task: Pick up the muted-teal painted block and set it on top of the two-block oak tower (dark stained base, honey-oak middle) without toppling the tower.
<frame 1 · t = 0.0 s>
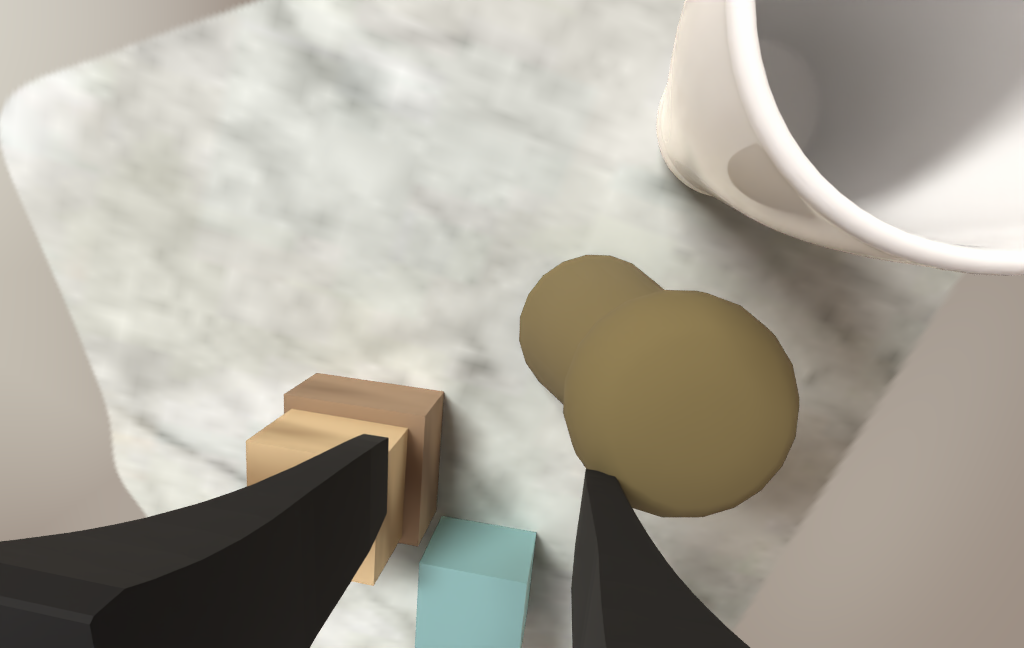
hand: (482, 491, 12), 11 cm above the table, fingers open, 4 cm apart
tower mid: (347, 473, 23), point 3 cm above the table, touching tower base
drinking glass: (728, 122, 20), on the table
tower base: (380, 439, 25), on the table, touching tower mid
teal block: (485, 563, 26), on the table
olive rounded piece: (593, 329, 22), on the table, touching gripper
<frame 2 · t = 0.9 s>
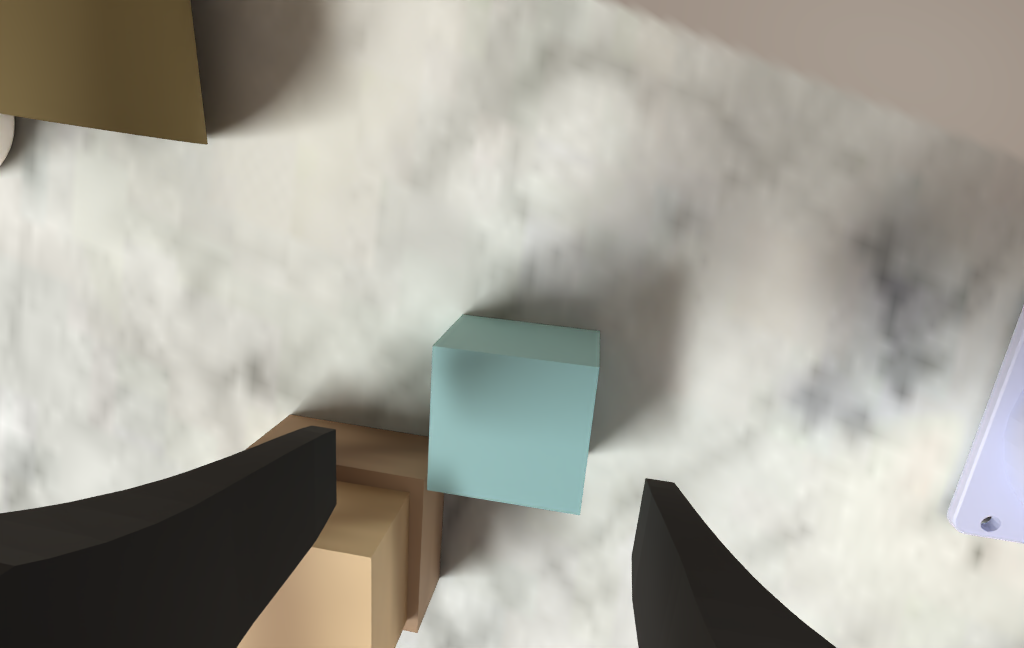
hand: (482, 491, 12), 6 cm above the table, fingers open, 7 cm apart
tower mid: (336, 545, 18), point 3 cm above the table, touching tower base
tower base: (370, 492, 21), on the table, touching tower mid
teal block: (524, 385, 18), on the table
olive rounded piece: (83, 132, 15), point 3 cm above the table
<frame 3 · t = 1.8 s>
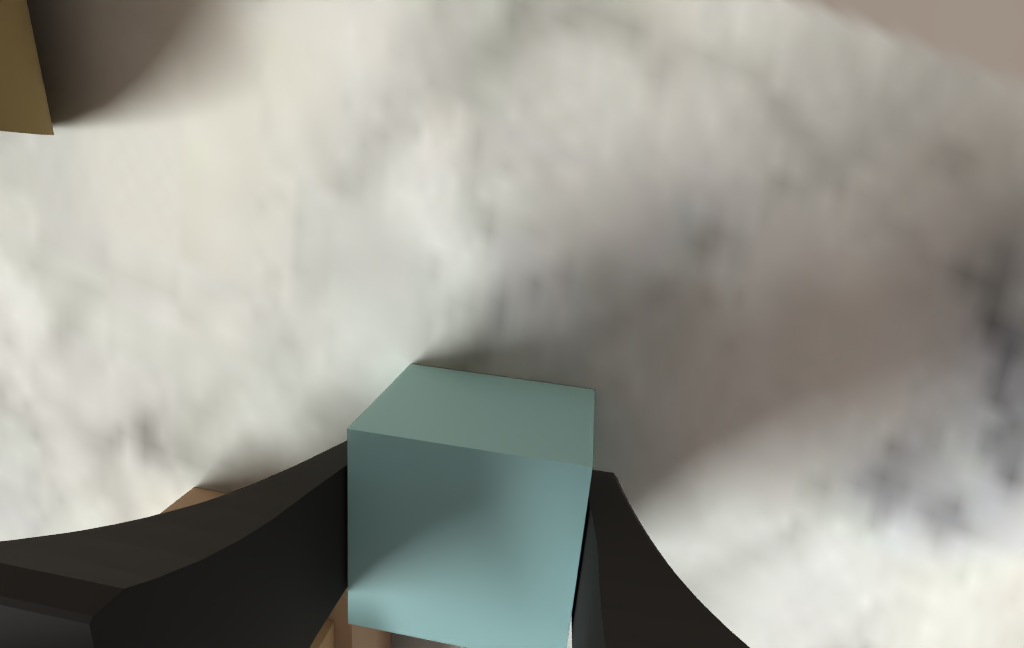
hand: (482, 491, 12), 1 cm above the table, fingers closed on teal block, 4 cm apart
tower base: (300, 584, 16), on the table, touching tower mid
teal block: (493, 459, 14), on the table, touching gripper
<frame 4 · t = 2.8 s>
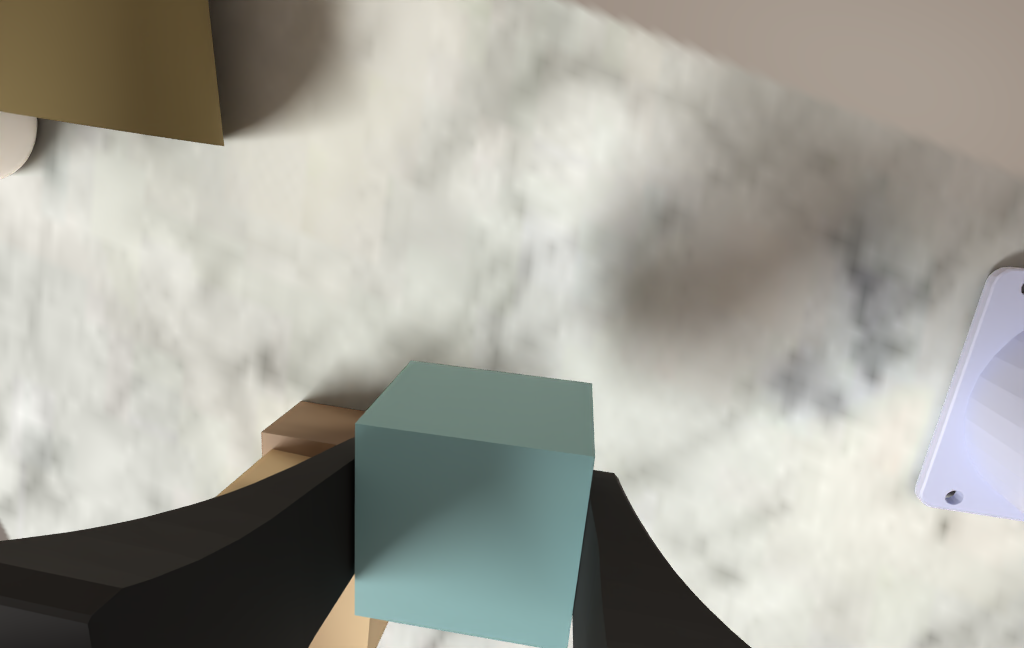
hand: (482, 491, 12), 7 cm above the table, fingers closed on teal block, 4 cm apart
tower mid: (337, 525, 19), point 3 cm above the table, touching tower base
tower base: (376, 476, 22), on the table, touching tower mid
teal block: (493, 453, 14), point 6 cm above the table, touching gripper
olive rounded piece: (109, 134, 16), point 3 cm above the table
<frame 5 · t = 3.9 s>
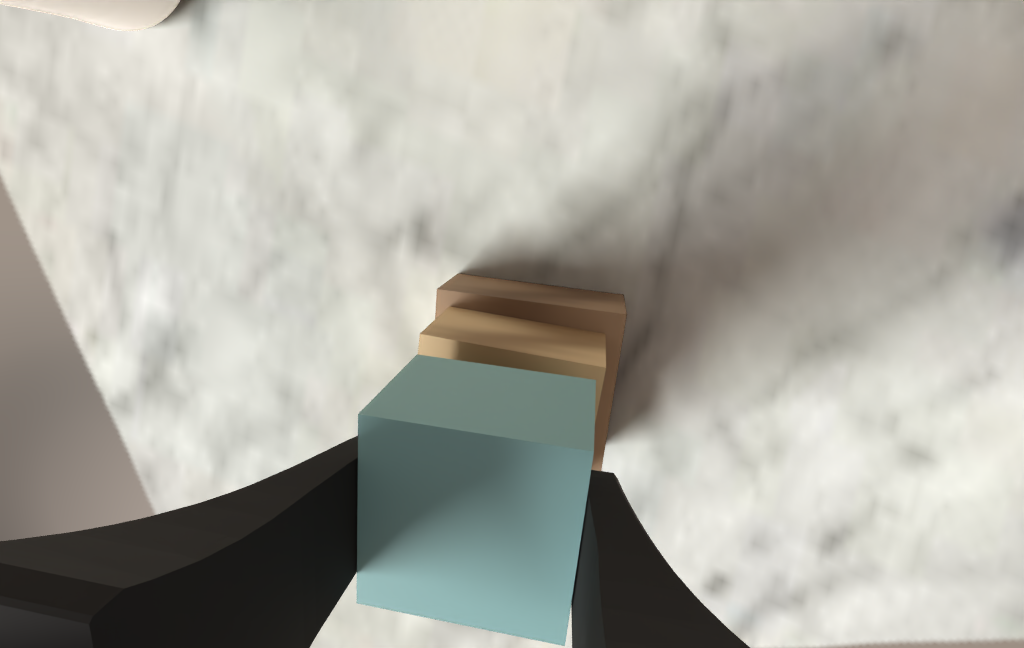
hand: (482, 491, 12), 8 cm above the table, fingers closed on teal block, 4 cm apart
tower mid: (515, 391, 18), point 3 cm above the table
tower base: (531, 358, 21), on the table
teal block: (497, 447, 14), point 7 cm above the table, touching gripper
when the fingers open (8 cm above the table, at t = 4.3 s): teal block stays where it is, resting on tower mid.
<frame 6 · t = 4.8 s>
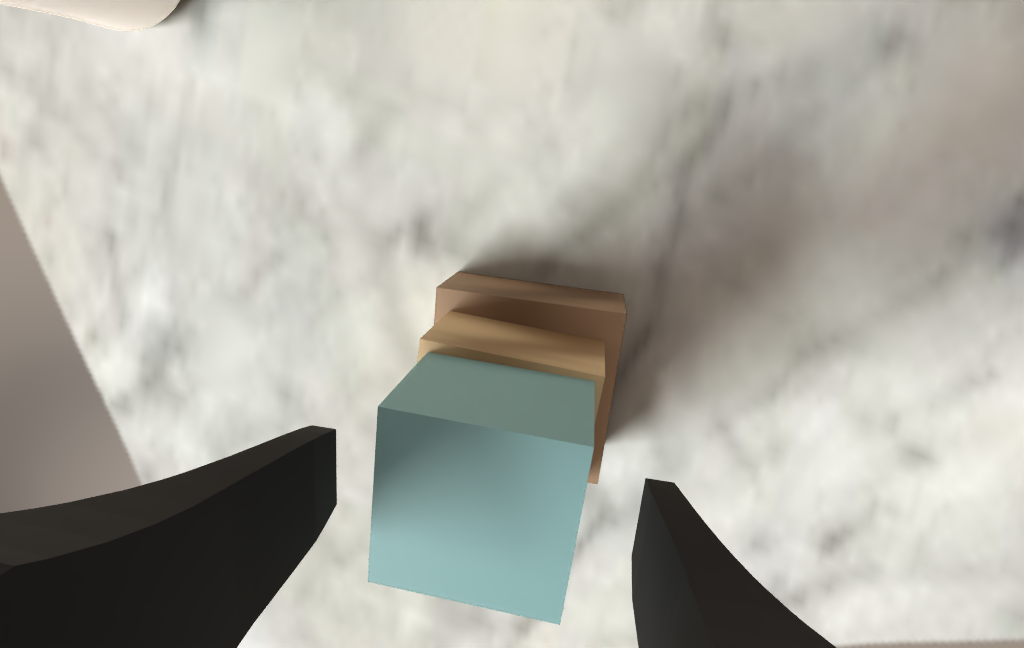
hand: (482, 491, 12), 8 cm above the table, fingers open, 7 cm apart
tower mid: (513, 397, 18), point 3 cm above the table, touching teal block, tower base
tower base: (530, 358, 21), on the table, touching tower mid
teal block: (499, 441, 15), point 6 cm above the table, touching tower mid
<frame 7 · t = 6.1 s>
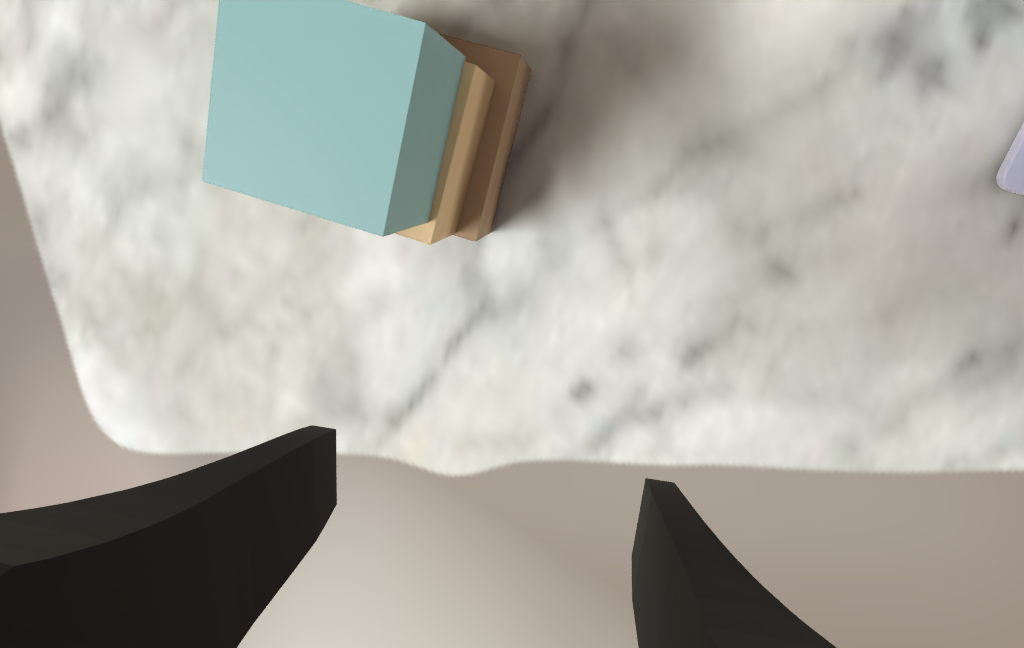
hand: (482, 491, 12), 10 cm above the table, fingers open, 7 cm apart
tower mid: (404, 138, 18), point 3 cm above the table, touching teal block, tower base
tower base: (436, 134, 21), on the table, touching tower mid
teal block: (370, 121, 15), point 6 cm above the table, touching tower mid
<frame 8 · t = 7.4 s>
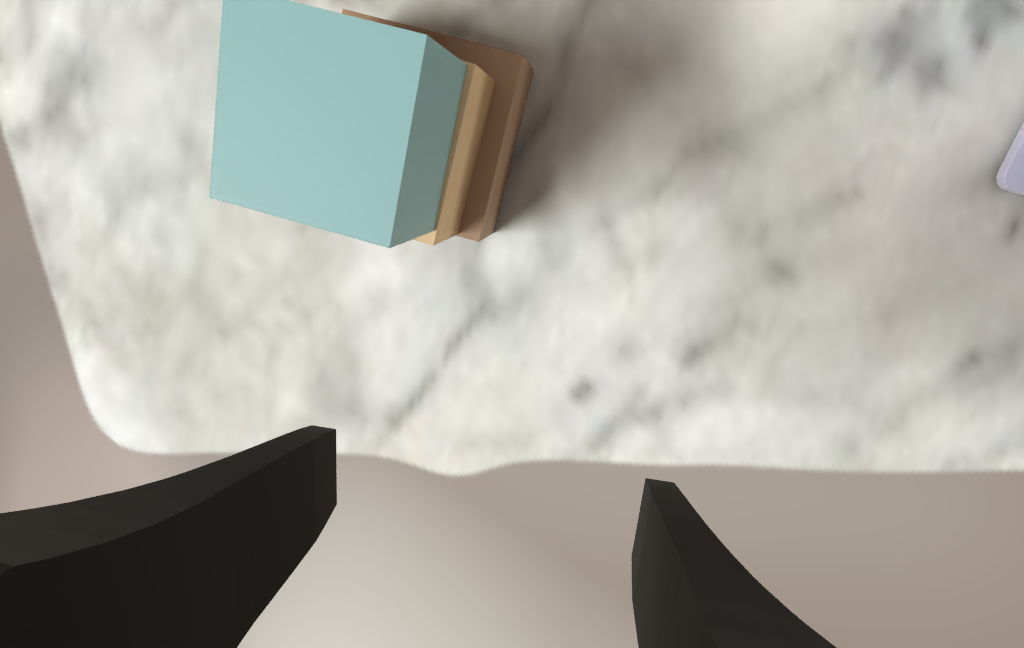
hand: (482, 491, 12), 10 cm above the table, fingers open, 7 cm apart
tower mid: (405, 139, 18), point 3 cm above the table, touching teal block, tower base
tower base: (439, 134, 21), on the table, touching tower mid
teal block: (373, 131, 15), point 6 cm above the table, touching tower mid
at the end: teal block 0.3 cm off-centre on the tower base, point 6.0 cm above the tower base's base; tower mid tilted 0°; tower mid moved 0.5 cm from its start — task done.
